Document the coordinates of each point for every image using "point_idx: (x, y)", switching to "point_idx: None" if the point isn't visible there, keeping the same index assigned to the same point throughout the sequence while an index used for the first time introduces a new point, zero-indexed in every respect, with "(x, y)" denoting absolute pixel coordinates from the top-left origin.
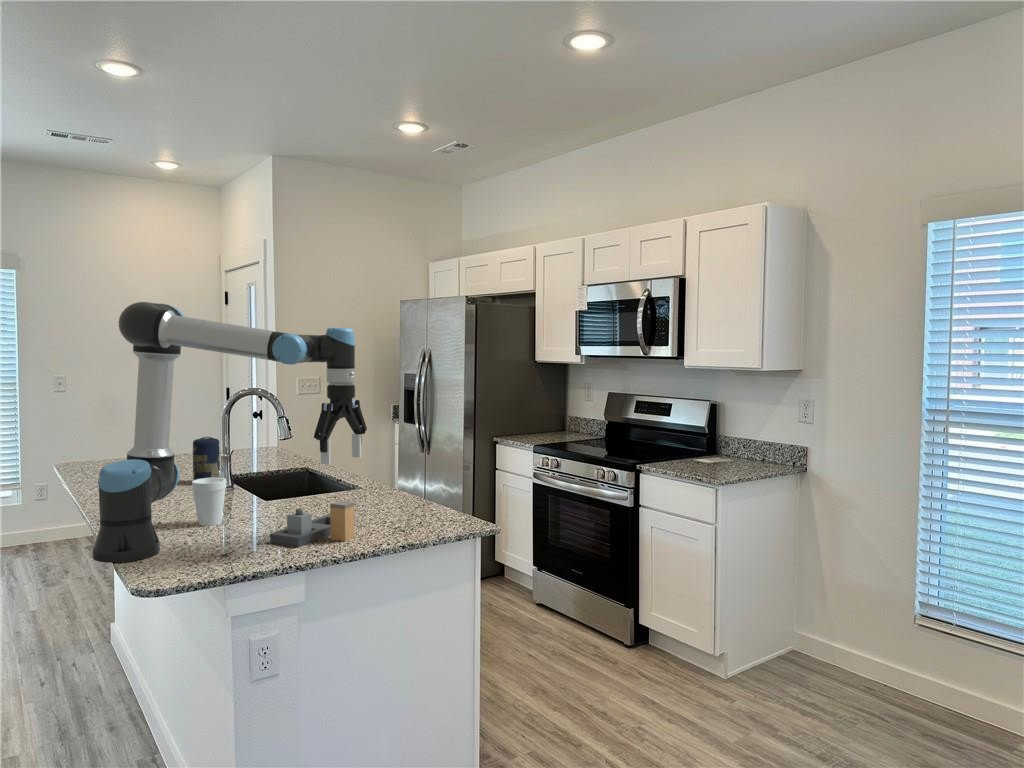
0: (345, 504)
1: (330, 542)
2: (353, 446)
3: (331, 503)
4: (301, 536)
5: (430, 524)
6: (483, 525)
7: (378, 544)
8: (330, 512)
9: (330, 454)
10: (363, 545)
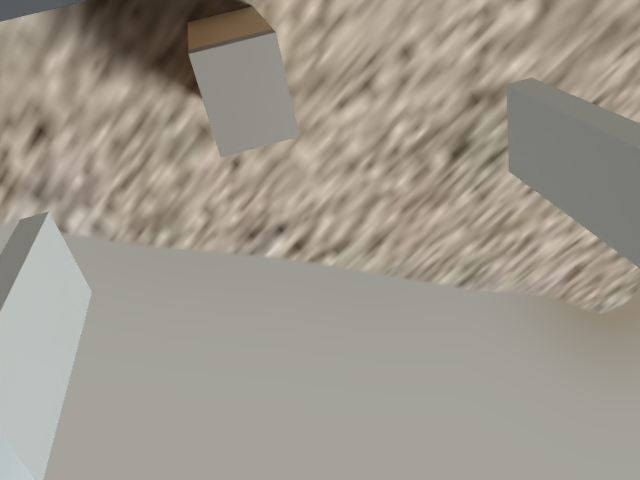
0: (237, 140)
1: (158, 64)
2: (570, 137)
3: (197, 54)
4: (10, 10)
5: None
6: (629, 285)
7: (273, 225)
8: (188, 44)
9: (73, 353)
10: (227, 198)
